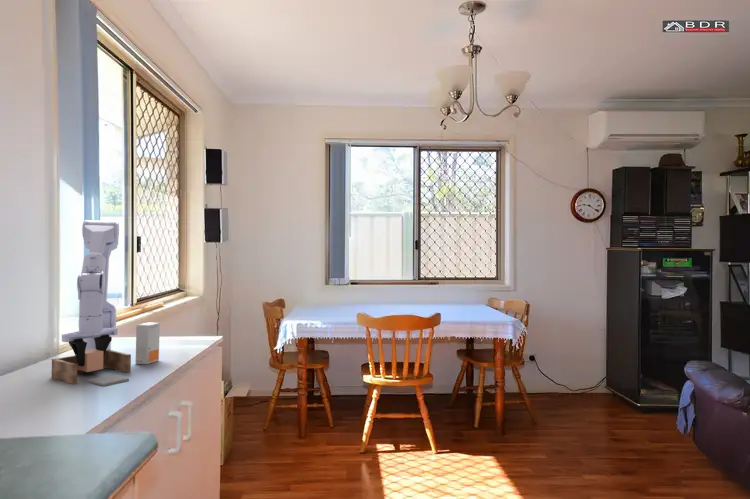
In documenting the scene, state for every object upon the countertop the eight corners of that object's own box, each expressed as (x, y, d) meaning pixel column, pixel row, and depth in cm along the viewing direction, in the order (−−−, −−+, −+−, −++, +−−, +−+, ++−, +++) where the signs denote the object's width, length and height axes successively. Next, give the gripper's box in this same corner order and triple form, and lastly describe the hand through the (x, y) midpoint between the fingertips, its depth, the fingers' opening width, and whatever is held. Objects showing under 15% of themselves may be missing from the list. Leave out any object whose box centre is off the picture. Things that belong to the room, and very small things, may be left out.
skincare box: (147, 364, 157) (148, 325, 156) (135, 364, 157) (135, 324, 157) (159, 360, 163) (160, 322, 162) (147, 359, 163) (148, 321, 163)
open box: (51, 377, 140) (51, 359, 140) (108, 366, 154) (109, 349, 154) (72, 384, 134) (73, 365, 134) (130, 371, 148) (130, 354, 148)
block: (77, 369, 144) (77, 351, 144) (93, 366, 148) (93, 348, 148) (87, 372, 141) (87, 353, 141) (103, 368, 145) (103, 351, 145)
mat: (88, 381, 137) (88, 379, 137) (114, 376, 143) (114, 374, 143) (103, 386, 133) (103, 383, 133) (128, 380, 139) (128, 378, 139)
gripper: (71, 319, 136) (71, 371, 136) (123, 314, 148) (123, 361, 148) (57, 317, 140) (57, 367, 140) (110, 311, 152) (109, 357, 152)
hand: (90, 364), depth 145 cm, fingers closed on block, 4 cm apart
